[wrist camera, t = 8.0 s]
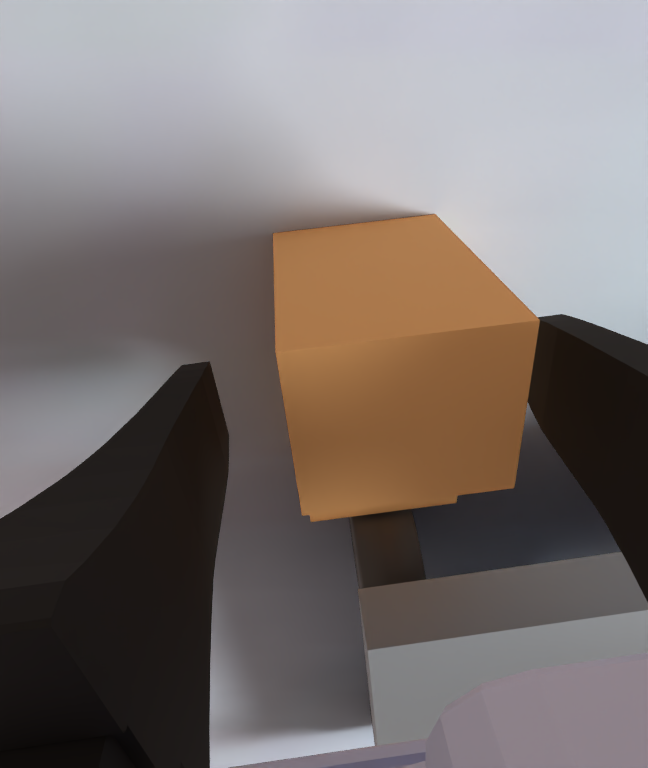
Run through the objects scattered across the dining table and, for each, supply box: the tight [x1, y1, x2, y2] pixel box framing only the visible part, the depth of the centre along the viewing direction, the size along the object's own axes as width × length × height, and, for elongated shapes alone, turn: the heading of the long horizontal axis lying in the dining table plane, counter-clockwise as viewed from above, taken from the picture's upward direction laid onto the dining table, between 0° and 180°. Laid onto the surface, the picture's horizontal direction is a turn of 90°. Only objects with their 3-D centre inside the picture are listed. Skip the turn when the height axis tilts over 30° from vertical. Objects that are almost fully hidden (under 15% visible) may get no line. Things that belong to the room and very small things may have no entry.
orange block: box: [273, 214, 540, 522], centre depth 12 cm, size 4×7×6 cm, turn 5°
